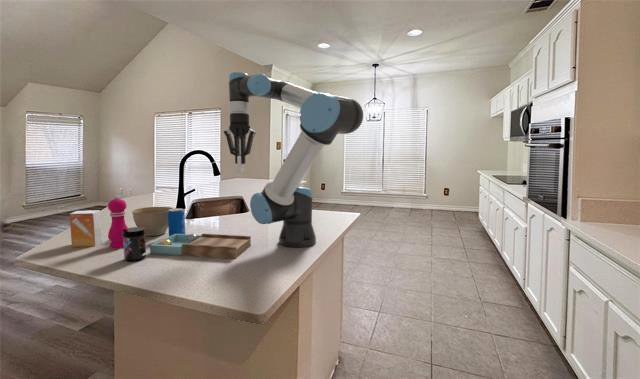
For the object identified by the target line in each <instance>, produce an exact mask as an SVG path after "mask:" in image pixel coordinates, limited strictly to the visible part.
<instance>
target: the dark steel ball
mask: <svg viewBox="0 0 640 379" xmlns="http://www.w3.org/2000/svg"><path fill="white" fill-rule="evenodd" d="M197 235H198V234H195V233H190V235H189V236H188V237H187V242H188V243H191V242H192V241H194V240H196V239H198V237H197Z"/></svg>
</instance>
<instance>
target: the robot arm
mask: <svg viewBox="0 0 640 379" xmlns="http://www.w3.org/2000/svg"><path fill="white" fill-rule="evenodd" d="M228 89H229V90H228V91H229V93H228V94H229V97H228V98H229V112H230V114H229V126H228V129H226V130H224V131H223V133H224V136H225V137H226V140H227V145H228V149H229V153H230V155H232V156H234V162H235V164H236V165H237V167H236V168H237V173H243V172H244V165H245V164H246V156H247V155H250V154H251V150H252V146H253V141H254V137H255V136H256V133H257V132H256V130H253V129H252V128H251V126H250V114H249V113H250V98H252V97H260V98H265V99H273V100H277V101H280V102H283V103H286V104H288V105H291V106H294V107H296V108H299V109H300V110H299V114H300V116H299V122H300V124H299V128H300V130H301V131H300V133H299V135H298V137H297V139H296V140H295V142H294V144H293V145H292V147H291V149H290V151H289V153H288V154H287V156H286V158H285V160H284V161H283V163H282V165H281V167H280V168H279V170H278V171H277V173H276V175H275V177H274V179H273V180H272V181H269V182H268V183H266V184H265V186H264V188H263V189H262V191H261V192H256V193H254V194H252V195H251V197H250V201H249V202H250V203H249V207H250V212H251V215H252V218H254V220H255V221H256V222H257V223H258V224H261V225H270V224H273V223H279V222H283V223H282V227H281V230H280V234H279V235H278V236H279V237H278V243H279V244H280V245H281V246H284V247H288V248H289V247H290V248H307V247H310V246H314V245H315V244H316V242H317V236H316V233H315V230H314V227H313V222H312V221H313V220H312V219H313V192H312V189H311V188H309V187H303V186H300V184H301V183H302V182H303V179H304V178H305V177H306V175H307V173H308V172H309V170H310V168H311V167H312V165H313V164H314V162H315V161H316V159H317V158H318V157H319V155H320V153H321V151H322V150H323V148H324V147H325V146H330V145H332V143H333V141H334V140H335V139H336V137H337V136H338V134H341V135H347V134H352V133H354V132H356V131H357V130H358V129H359V128H360V127H361V125H362V124H363V121H364V111H363V108H362V106H361V105H360V102H358V101H357V100H355V99H353V98H351V97H346V96H345V97H344V96H340V95H335V94H333V93H329V92H317V91H313V90H311V89H307V88H304V87H302V86H300V85H299V86H298V85H296V84H293V83H291V82H289V81H286V80H278V79H274V78H270V77H269V76H267V75H266V74H263V73H255V74H251V75H249V74H248V73H246V72H242V71H241V72H239V71H234V72H231V73H230V74H229V80H228ZM232 135H233V136H232ZM247 135H248V137H247ZM233 139H234V140H233ZM246 139H247V141H246Z"/></svg>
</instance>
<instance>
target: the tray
mask: <svg viewBox="0 0 640 379" xmlns="http://www.w3.org/2000/svg"><path fill="white" fill-rule="evenodd" d="M190 234H191V233H190ZM190 234H187V233H185V234H174V235H172V236H169V235H168V236H167V237H165V238H163V239H160V240H158V241H156V242H153V243H152V244H150V245H149V251H150V253H149V254H150V255H165V256H177V257H178V256H180V257H182V256H183V255H182V244H189V243H188V242H187V237H188V236H189V235H190ZM196 235H197V237H198V238H200V237H202V234H196ZM164 239H168V240H170V241H171V242H172V246H171V245H160V243H161V241H162V240H164Z"/></svg>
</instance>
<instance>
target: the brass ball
mask: <svg viewBox="0 0 640 379" xmlns="http://www.w3.org/2000/svg"><path fill="white" fill-rule="evenodd" d="M163 239H164V240H163ZM163 239H161V240H162V241H161V243H160V245H171V246H172V242H171V241H170V240H168V239H165V238H163Z"/></svg>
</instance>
